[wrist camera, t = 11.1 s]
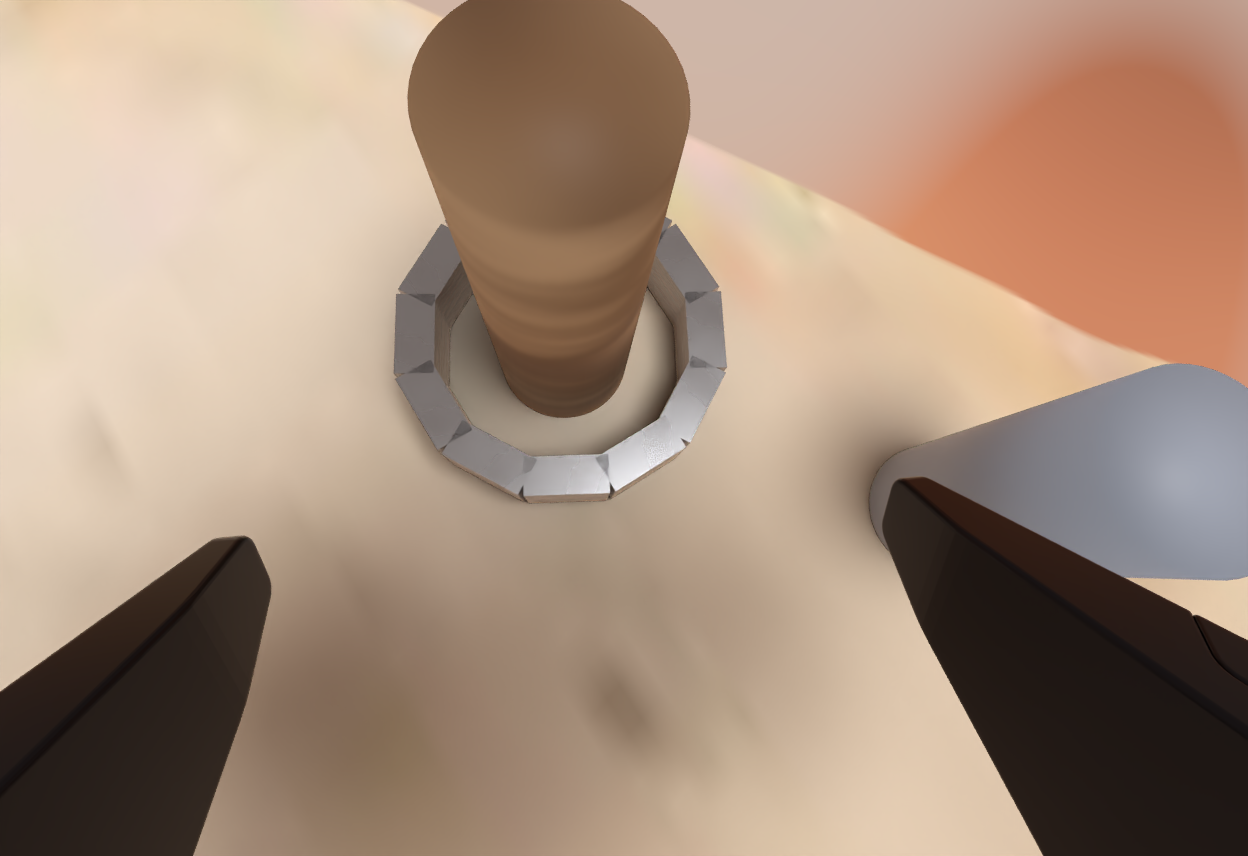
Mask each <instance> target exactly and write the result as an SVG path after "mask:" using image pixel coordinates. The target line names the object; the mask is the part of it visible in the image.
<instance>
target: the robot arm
mask: <svg viewBox="0 0 1248 856" xmlns="http://www.w3.org/2000/svg"><path fill="white" fill-rule="evenodd" d="M882 531H883V536H884V539H885V541H886V544H887V546H888V549H889V551H890V554H891V556H892V558H893V561H894V563H895V566H896V568H897V571H898V573H899V576H900V578H901V581H902V583H903V586H904V588H905V591H906V593H907V595H908V598H909V600H910V603H911V605H912V608H913V610H914V613H915V615H916V617H917V619H918V622H919V624H920V626H921V628H922V630H923V632H924V634H925V636H926V638H927V640H928V642H929V644H930V646H931V648H932V650H933V651H934V653H935V655H936V657H937V659H938V661H939V663H940V664H941V666H942V668H943V670H944V672H945V674H946V676H947V678H948V679H949V681H950V683H951V685H952V687H953V689H954V691H955V692H956V694H957V696H958V698H959V700H960V702H961V704H962V705H963V707H964V709H965V711H966V713H967V715H968V717H969V718H970V720H971V722H972V724H973V726H974V728H975V730H976V732H977V733H978V735H979V737H980V739H981V741H982V743H983V745H984V746H985V748H986V750H987V752H988V754H989V756H990V758H991V759H992V761H993V763H994V765H995V767H996V769H997V771H998V772H999V774H1000V776H1001V778H1002V780H1003V782H1004V784H1005V785H1006V787H1007V789H1008V791H1009V793H1010V795H1011V797H1012V799H1013V800H1014V802H1015V804H1016V806H1017V808H1018V810H1019V812H1020V813H1021V815H1022V817H1023V819H1024V821H1025V823H1026V825H1027V826H1028V828H1029V830H1030V832H1031V834H1032V836H1033V838H1034V839H1035V841H1036V843H1037V845H1038V847H1039V849H1040V851H1041V853H1042V854H1043V856H1248V640H1246V639H1244V638H1242V637H1240V636H1238V635H1236V634H1234V633H1232V632H1230V631H1228V630H1226V629H1224V628H1222V627H1220V626H1218V625H1216V624H1214V623H1213V622H1211V621H1209V620H1207V619H1205V618H1203V617H1201V616H1199V615H1194V616H1192V614H1191V612H1190V611H1189V610H1187V609H1185V608H1183V607H1181V606H1179V605H1177V604H1175V603H1173V602H1171V601H1169V600H1167V599H1165V598H1163V597H1161V596H1159V595H1157V594H1155V593H1153V592H1151V591H1149V590H1147V589H1146V588H1144V587H1142V586H1140V585H1138V584H1136V583H1134V582H1132V581H1130V580H1128V579H1126V578H1124V577H1122V576H1120V575H1118V574H1116V573H1114V572H1112V571H1110V570H1108V569H1106V568H1104V567H1102V566H1100V565H1098V564H1096V563H1094V562H1092V561H1090V560H1089V559H1087V558H1085V557H1083V556H1081V555H1079V554H1077V553H1075V552H1073V551H1071V550H1069V549H1067V548H1065V547H1063V546H1061V545H1059V544H1057V543H1055V542H1053V541H1051V540H1049V539H1047V538H1045V537H1043V536H1041V535H1039V534H1037V533H1035V532H1033V531H1032V530H1030V529H1028V528H1026V527H1024V526H1022V525H1020V524H1018V523H1016V522H1014V521H1012V520H1010V519H1008V518H1006V517H1004V516H1002V515H1000V514H998V513H996V512H994V511H992V510H990V509H988V508H986V507H984V506H982V505H980V504H978V503H976V502H975V501H973V500H971V499H969V498H967V497H965V496H963V495H961V494H959V493H957V492H955V491H953V490H951V489H949V488H947V487H945V486H943V485H941V484H939V483H937V482H935V481H933V480H931V479H929V478H927V477H924V476H916V477H904V478H899V479H897V480H895V481H894V483H893V484H892V487H891V490H890V494H889V498H888V501H887V505H886V509H885V512H884V516H883V520H882ZM270 598H271V582H270V578H269V575H268V573H267V571H266V569H265V566H264V564H263V562H262V560H261V557H260V555H259V553H258V551H257V548H256V546H255V544H254V542H253V541H252V540H251V539H250V538H249V537H246V536H233V537H222V538H216V539H213V540H211V541H210V542H208V543H207V544H205V545H204V546H203V547H201V548H200V549H198V550H197V551H196V552H194V553H193V554H191V555H190V556H189V557H187V558H186V559H184V560H183V561H182V562H180V563H179V564H177V565H176V566H175V567H173V568H172V569H170V570H169V571H168V572H166V573H165V574H164V575H162V576H161V577H159V578H158V579H157V580H155V581H154V582H152V583H151V584H150V585H148V586H147V587H145V588H144V589H143V590H141V591H140V592H138V593H137V594H136V595H134V596H133V597H131V598H130V599H129V600H127V601H126V602H124V603H123V604H122V605H120V606H119V607H118V608H116V609H115V610H113V611H112V612H111V613H109V614H108V615H106V616H105V617H104V618H102V619H101V620H99V621H98V622H97V623H95V624H94V625H92V626H91V627H90V628H88V629H87V630H85V631H84V632H83V633H81V634H80V635H78V636H77V637H76V638H74V639H73V640H71V641H70V642H69V643H67V644H66V645H64V646H63V647H62V648H60V649H59V650H58V651H56V652H55V653H53V654H52V655H51V656H49V657H48V658H46V659H45V660H44V661H42V662H41V663H39V664H38V665H37V666H35V667H34V668H32V669H31V670H30V671H28V672H27V673H25V674H24V675H23V676H21V677H20V678H18V679H17V680H16V681H14V682H13V683H11V684H10V685H9V686H7V687H6V688H4V689H3V690H2V691H0V856H193V854H194V852H195V849H196V846H197V843H198V840H199V837H200V834H201V832H202V829H203V826H204V823H205V820H206V817H207V814H208V812H209V809H210V806H211V803H212V800H213V797H214V794H215V792H216V789H217V786H218V783H219V780H220V777H221V774H222V772H223V769H224V766H225V763H226V760H227V757H228V754H229V752H230V749H231V746H232V743H233V740H234V737H235V734H236V732H237V729H238V726H239V723H240V720H241V717H242V714H243V711H244V708H245V705H246V701H247V697H248V694H249V690H250V686H251V682H252V677H253V673H254V668H255V664H256V660H257V655H258V651H259V646H260V642H261V638H262V633H263V629H264V624H265V620H266V616H267V611H268V607H269V602H270Z"/></svg>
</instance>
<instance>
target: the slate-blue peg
mask: <svg viewBox="0 0 1248 856" xmlns="http://www.w3.org/2000/svg"><path fill="white" fill-rule="evenodd" d="M916 476H924V477H927V478H929V479H931V480H933V481H935V482H937V483H939V484H941V485H943V486H945V487H947V488H949V489H951V490H953V491H955V492H957V493H959V494H961V495H963V496H965V497H967V498H969V499H971V500H973V501H975V502H976V503H978V504H980V505H982V506H984V507H986V508H988V509H990V510H992V511H994V512H996V513H998V514H1000V515H1002V516H1004V517H1006V518H1008V519H1010V520H1012V521H1014V522H1016V523H1018V524H1020V525H1022V526H1024V527H1026V528H1028V529H1030V530H1032V531H1033V532H1035V533H1037V534H1039V535H1041V536H1043V537H1045V538H1047V539H1049V540H1051V541H1053V542H1055V543H1057V544H1059V545H1061V546H1063V547H1065V548H1067V549H1069V550H1071V551H1073V552H1075V553H1077V554H1079V555H1081V556H1083V557H1085V558H1087V559H1089V560H1090V561H1092V562H1094V563H1096V564H1098V565H1100V566H1102V567H1104V568H1106V569H1108V570H1110V571H1112V572H1114V573H1116V574H1118V575H1120V576H1122V577H1128V578H1160V579H1192V580H1233V579H1240V578H1244V577H1247V576H1248V388H1247V387H1245V386H1244V385H1242V384H1241V383H1239V382H1238V381H1236V380H1234V379H1233V378H1231V377H1229V376H1227V375H1225V374H1222V373H1220V372H1218V371H1216V370H1213V369H1209V368H1206V367H1202V366H1197V365H1191V364H1166V365H1161V366H1157V367H1152V368H1149V369H1146V370H1143V371H1140V372H1137V373H1134V374H1131V375H1128V376H1125V377H1122V378H1119V379H1116V380H1113V381H1110V382H1107V383H1104V384H1101V385H1098V386H1095V387H1092V388H1089V389H1086V390H1083V391H1080V392H1077V393H1074V394H1071V395H1068V396H1065V397H1062V398H1059V399H1056V400H1053V401H1050V402H1047V403H1044V404H1041V405H1038V406H1035V407H1032V408H1029V409H1026V410H1023V411H1020V412H1017V413H1014V414H1011V415H1008V416H1005V417H1002V418H999V419H996V420H993V421H990V422H987V423H984V424H981V425H978V426H975V427H972V428H969V429H966V430H963V431H960V432H957V433H954V434H951V435H948V436H945V437H942V438H939V439H936V440H933V441H930V442H927V443H924V444H921V445H918V446H915V447H912V448H909V449H906V450H904V451H901V452H899V453H897V454H895V455H894V456H892V457H891V458H890V459H888V460H887V461H886V462H885V463H884V464H883V465H882V466H881V468H880V469H879V471H878V472H877V474H876V476H875V478H874V480H873V483H872V486H871V490H870V497H869V509H870V515H871V520H872V523H873V526H874V529H875V531H876V533H877V535H878V537H879V538H880V540H881V542H882V543H883V544H884V546H885V547H886V548H887V549H888V546H887V544H886V541H885V539H884V536H883V531H882V520H883V516H884V512H885V509H886V505H887V501H888V498H889V494H890V490H891V487H892V484H893V483H894V481H895V480H897V479H899V478H904V477H916ZM888 550H889V549H888Z"/></svg>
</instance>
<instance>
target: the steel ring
mask: <svg viewBox="0 0 1248 856" xmlns="http://www.w3.org/2000/svg"><path fill="white" fill-rule="evenodd" d="M445 221H446V220H445ZM671 222H672V220H670V219H668V218H666V217H665V220H664V224H663V227H662V231H661V235H660V239H659V243H658V246H657V250H656V254H655V258H654V261H653V265H652V269H651V273H650V277H649V280H648V284H647V287H648V289H649V290H650V292H651V293H652V294H653V296H654V297H655V299H656V300H657V302H658V303H659V305H660V306H661V308H662V309H663V311H664V312H665V314H666V315H667V317H668V318H669V320H670V321H671V323H672V324H673V326H674V342H675V358H676V374H677V383H676V385H675V387H674V389H673V391H672V393H671V395H670V397H669V399H668V401H667V402H666V404H665V406H664V408H663V410H662V412H661V414H660V416H659V418H658V420H656V421H655V422H653V423H651V424H650V425H648V426H646V427H645V428H643V429H641V430H640V431H638V432H637V433H635V434H633V435H632V436H630V437H628V438H627V439H625V440H624V441H622V442H620V443H619V444H617V445H615V446H614V447H612V448H610V449H609V450H607V451H606V452H604V453H602V454H591V455H557V456H529V455H527V454H525V453H524V452H522V451H520V450H518V449H516V448H514V447H512V446H510V445H509V444H507V443H505V442H503V441H501V440H499V439H497V438H495V437H493V436H492V435H490V434H488V433H486V432H484V431H482V430H480V429H478V428H477V427H475V426H473V425H472V424H471V422H470V420H469V419H468V417H467V415H466V414H465V412H464V410H463V409H462V407H461V405H460V404H459V402H458V400H457V399H456V397H455V396H454V394H453V392H452V391H451V389H450V387H449V382H450V328H451V327H452V325H453V323H454V322H455V320H456V319H457V317H458V316H459V314H460V312H461V311H462V309H463V308H464V306H465V304H466V303H467V301H468V300H469V298H470V296H471V295H472V293H473V290H472V288H471V285H470V282H469V280H468V277H467V274H466V272H465V269H464V266H463V264H462V261H461V259H460V256H459V253H458V251H457V248H456V245H455V243H454V240H453V237H452V235H451V232H450V229H449V227H446V226H444V225H442V224H441V225H440V226H439V228H438V229H437V231H436V232H435V234H434V235H433V237H432V238H431V240H430V241H429V243H428V244H427V246H426V247H425V249H424V250H423V252H422V254H421V255H420V257H419V258H418V260H417V261H416V263H415V264H414V266H413V267H412V269H411V270H410V272H409V273H408V275H407V276H406V278H405V279H404V281H403V282H402V284H401V285H400V287H399V288H398V290H399V291H400V293H401V294H396V322H395V354H394V374H395V375H396V376H397V377H398V378H396V381H397V383H398V384H399V386H400V388H401V389H402V391H403V393H404V394H405V396H406V398H407V400H408V401H409V403H410V405H411V406H412V408H413V410H414V411H415V413H416V415H417V416H418V418H419V420H420V421H421V423H422V425H423V427H424V428H425V430H426V432H427V433H428V435H429V437H430V438H431V440H432V442H433V443H434V445H435V447H436V449H437V450H438V451H439V452H440V453H442V455H443V456H445V457H446V458H447V459H448V460H450V461H451V462H452V463H453V464H455V465H456V466H457V467H459V468H461V469H463V470H465V471H467V472H469V473H470V474H472V475H474V476H476V477H478V478H480V479H482V480H484V481H485V482H487V483H489V484H491V485H493V486H495V487H497V488H499V489H500V490H502V491H504V492H506V493H508V494H510V495H512V496H514V497H515V498H517V499H519V500H521V501H523V502H524V501H525V500H527V501H528V502H529V503H552V502H580V501H606V500H607V498H608V496H609V497H610V498H611V499H612V498H613V497H615V496H617V495H618V494H620V493H621V492H623V491H625V490H626V489H628V488H629V487H631V486H633V485H634V484H636V483H637V482H639V481H640V480H642V479H644V478H645V477H647V476H648V475H650V474H652V473H653V472H655V471H656V470H658V469H660V468H661V467H663V466H664V465H666V464H668V463H669V462H671V461H672V460H674V459H675V458H676V457H677V456H678V455H679V454H680V453H681V452H682V451H683V450H684V449H685V448H686V446H687V445H688V444H689V443H690V442H691V440H692V438H693V436H694V434H695V432H696V430H697V428H698V426H699V424H700V422H701V420H702V418H703V416H704V414H705V412H706V410H707V409H708V407H709V405H710V403H711V401H712V399H713V397H714V395H715V393H716V391H717V389H718V387H719V385H720V383H721V381H722V379H723V377H724V375H725V373H726V372H724V370H725V369H726V368H727V364H726V351H725V338H724V326H723V313H722V300H721V291H717V289H718V288H719V286H718V284H717V283H716V281H715V280H714V278H713V277H712V276H711V274H710V273H709V271H708V270H707V268H706V267H705V265H704V264H703V262H702V261H701V260H700V258H699V257H698V255H697V254H696V252H695V251H694V249H693V248H692V247H691V245H690V244H689V242H688V241H687V239H686V238H685V236H684V235H683V233H682V232H681V231H680V229H679V228H678V226H677V225H676V224H675V225H673V226H671ZM446 224H447V221H446ZM447 226H448V224H447ZM670 226H671V227H670Z"/></svg>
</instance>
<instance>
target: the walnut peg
mask: <svg viewBox="0 0 1248 856" xmlns="http://www.w3.org/2000/svg"><path fill="white" fill-rule="evenodd" d="M408 113H409V118H410V123H411V128H412V131H413V134H414V136H415V139H416V142H417V144H418V147H419V150H420V152H421V155H422V158H423V160H424V163H425V166H426V168H427V171H428V174H429V176H430V179H431V182H432V184H433V187H434V190H435V192H436V195H437V198H438V200H439V203H440V205H441V208H442V211H443V213H444V216H445V219H446V221H447V224H448V227H449V229H450V232H451V235H452V237H453V240H454V243H455V245H456V248H457V251H458V253H459V256H460V259H461V261H462V264H463V266H464V269H465V272H466V274H467V277H468V280H469V282H470V285H471V288H472V290H473V293H474V296H475V298H476V301H477V304H478V306H479V309H480V312H481V314H482V317H483V320H484V322H485V325H486V328H487V330H488V333H489V335H490V338H491V341H492V343H493V346H494V349H495V351H496V354H497V357H498V359H499V362H500V365H501V367H502V370H503V373H504V375H505V378H506V381H507V383H508V385H509V387H510V388H511V390H512V391H513V393H514V394H515V395H516V396H517V397H518V398H519V400H520V401H522V402H523V403H524V404H525V405H527V406H528V407H530V408H531V409H533V410H535V411H537V412H539V413H541V414H544V415H548V416H552V417H562V418H568V417H576V416H580V415H584V414H587V413H589V412H592V411H593V410H595V409H597V408H599V407H600V406H602V405H603V404H604V403H605V402H607V401H608V400H609V399H610V398H611V396H612V395H613V394H614V393H615V391H616V390H617V388H618V387H619V385H620V383H621V380H622V378H623V375H624V371H625V367H626V364H627V360H628V356H629V352H630V348H631V345H632V341H633V337H634V333H635V330H636V326H637V322H638V318H639V314H640V311H641V307H642V303H643V299H644V295H645V292H646V288H647V284H648V280H649V277H650V273H651V269H652V265H653V261H654V258H655V254H656V250H657V246H658V243H659V239H660V235H661V231H662V227H663V224H664V220H665V216H666V212H667V208H668V205H669V201H670V197H671V193H672V190H673V186H674V182H675V178H676V174H677V171H678V167H679V163H680V159H681V155H682V152H683V148H684V144H685V140H686V137H687V133H688V127H689V120H690V97H689V90H688V83H687V80H686V77H685V74H684V70H683V68H682V66H681V64H680V61H679V59H678V57H677V55H676V53H675V52H674V50H673V48H672V47H671V45H670V44H669V42H668V41H667V39H666V38H665V37H664V36H663V35H662V33H661V32H660V31H659V30H658V29H657V27H655V25H653V24H652V23H651V22H650V21H649V20H648V19H647V18H646V17H645V16H644V15H642V14H641V13H640V12H638V11H637V10H635V9H634V8H633V7H631V6H630V5H628V4H626V3H624V2H623V1H621V0H468V1H466V2H464V3H463V4H461V5H460V6H458V7H457V8H456V9H454V10H453V11H451V12H450V13H449V14H448V15H447V16H446V17H445V18H444V19H442V20H441V21H440V22H439V23H438V24H437V26H436V27H435V28H434V29H433V30H432V32H431V33H430V34H429V35H428V37H427V38H426V40H425V42H424V43H423V45H422V47H421V48H420V50H419V52H418V54H417V57H416V59H415V62H414V64H413V67H412V71H411V75H410V79H409V87H408Z"/></svg>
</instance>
